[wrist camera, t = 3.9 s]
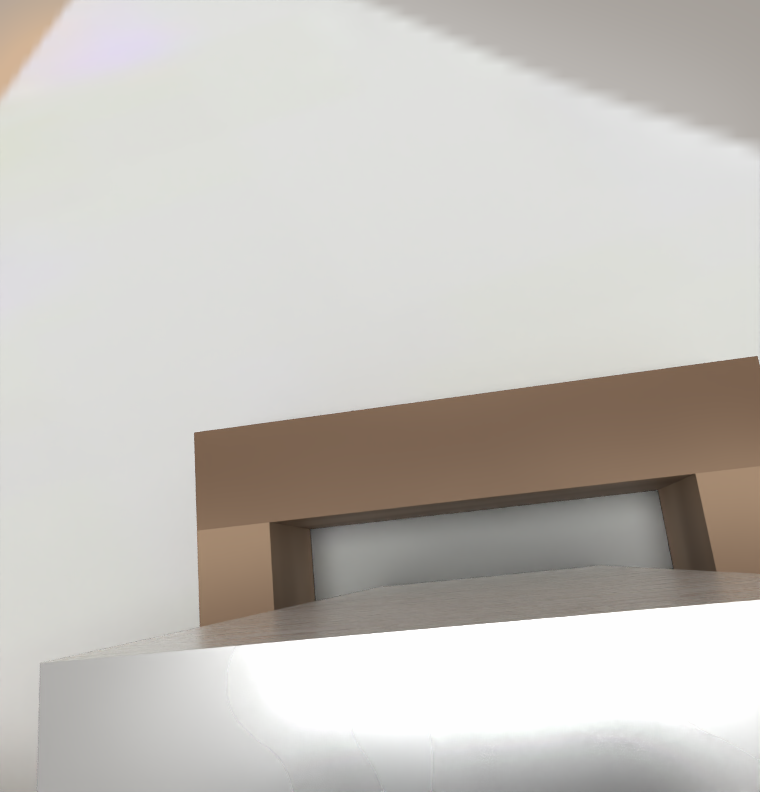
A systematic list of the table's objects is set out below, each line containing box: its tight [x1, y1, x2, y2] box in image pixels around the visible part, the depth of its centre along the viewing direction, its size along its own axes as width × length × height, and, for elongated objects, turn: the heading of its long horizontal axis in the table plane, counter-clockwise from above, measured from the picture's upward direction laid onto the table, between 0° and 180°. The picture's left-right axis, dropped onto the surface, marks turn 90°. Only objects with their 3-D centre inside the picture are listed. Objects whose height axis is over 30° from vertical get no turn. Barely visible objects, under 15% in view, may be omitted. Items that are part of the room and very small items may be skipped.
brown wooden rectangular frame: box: [194, 356, 760, 627], centre depth 13 cm, size 14×11×3 cm
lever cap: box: [37, 565, 760, 792], centre depth 9 cm, size 4×5×12 cm
